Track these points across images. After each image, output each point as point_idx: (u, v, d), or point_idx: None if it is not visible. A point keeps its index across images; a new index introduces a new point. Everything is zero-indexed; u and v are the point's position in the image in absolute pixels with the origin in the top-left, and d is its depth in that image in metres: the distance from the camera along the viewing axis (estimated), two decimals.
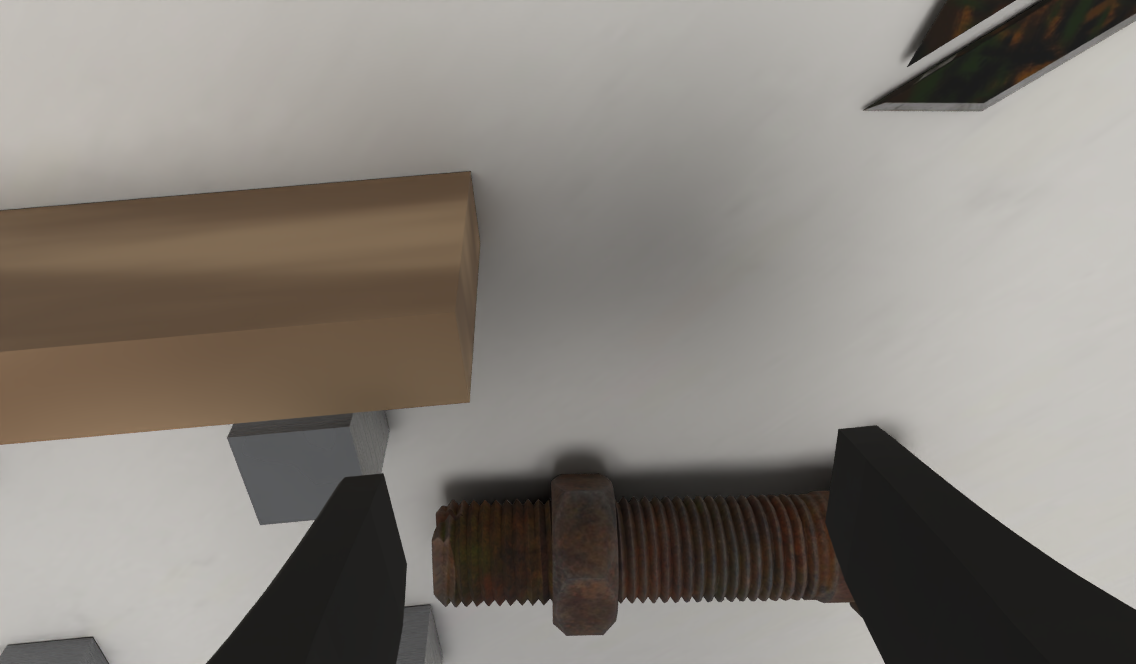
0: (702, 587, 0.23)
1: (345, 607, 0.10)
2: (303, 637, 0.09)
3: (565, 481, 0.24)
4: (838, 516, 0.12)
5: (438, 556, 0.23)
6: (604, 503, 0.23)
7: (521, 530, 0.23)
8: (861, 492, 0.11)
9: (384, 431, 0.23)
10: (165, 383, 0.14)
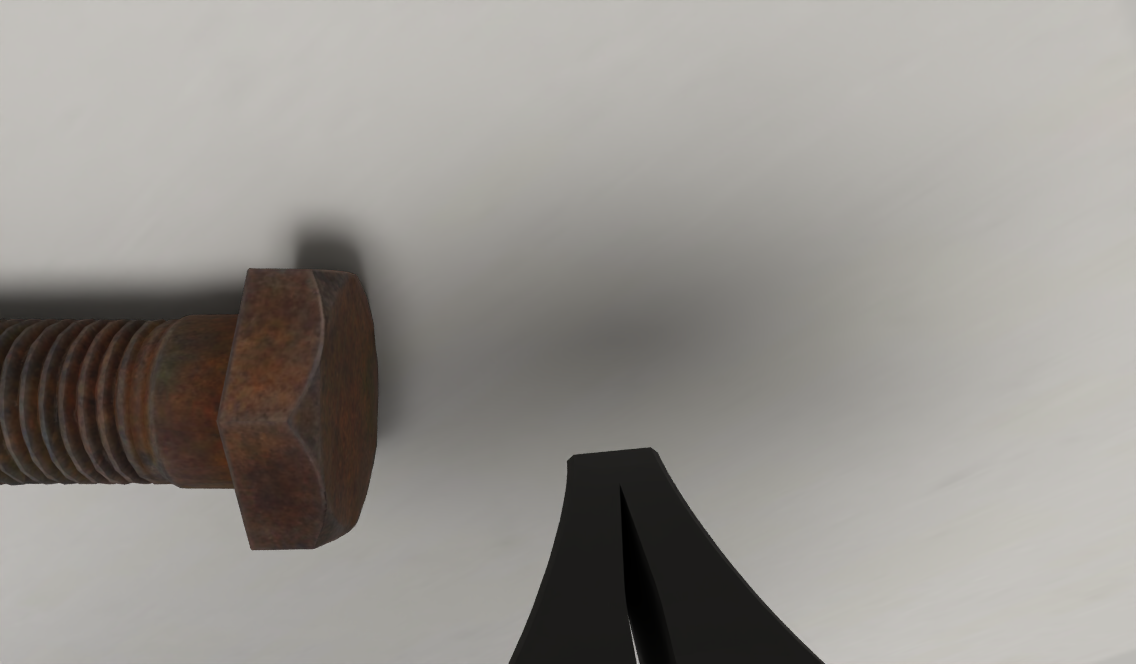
0: None
1: None
2: (615, 606, 0.09)
3: None
4: None
5: None
6: None
7: None
8: (622, 516, 0.11)
9: None
10: None
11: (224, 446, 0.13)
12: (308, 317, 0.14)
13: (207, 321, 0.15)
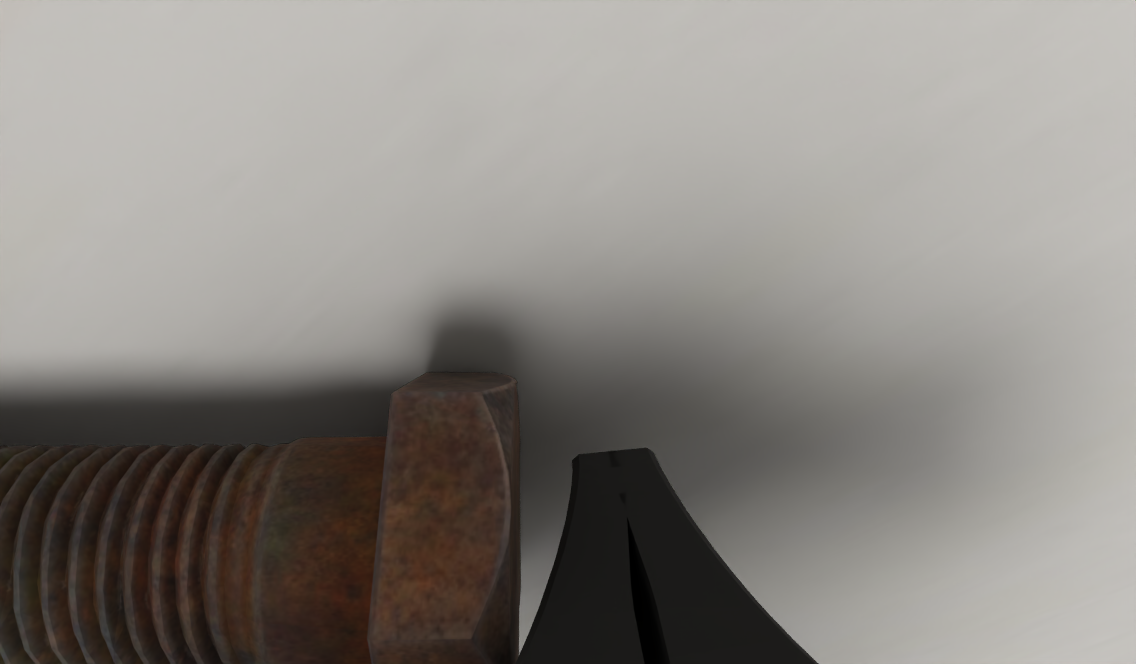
0: None
1: None
2: (621, 605, 0.09)
3: None
4: None
5: None
6: None
7: None
8: None
9: None
10: None
11: None
12: (485, 467, 0.09)
13: (324, 455, 0.11)
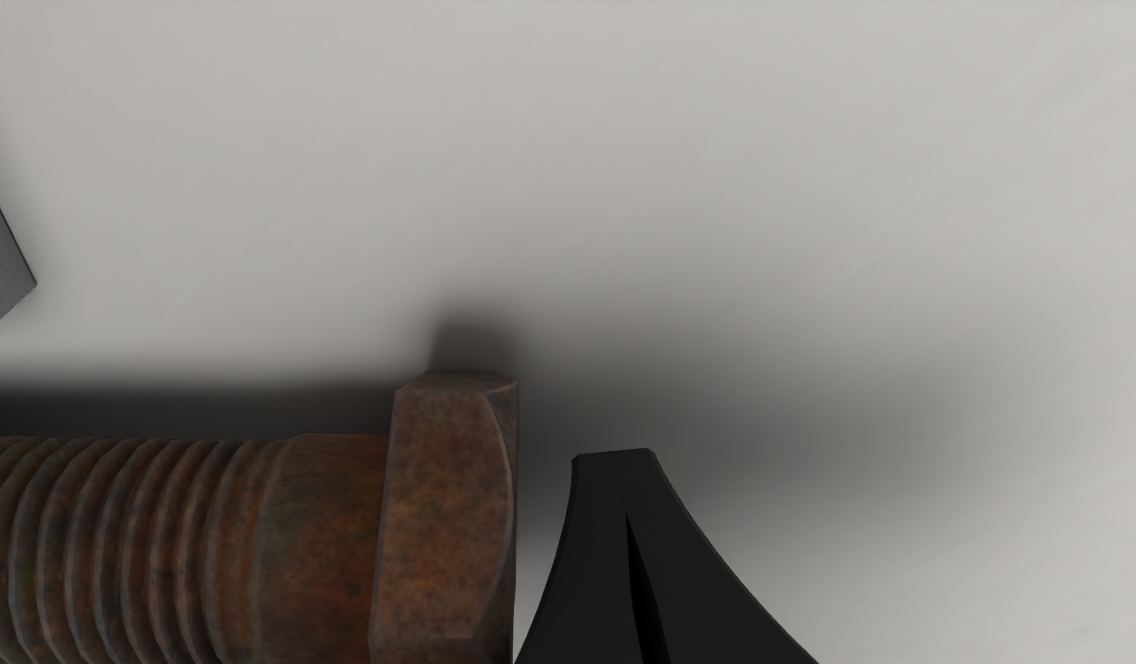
0: None
1: None
2: (620, 605, 0.09)
3: None
4: None
5: None
6: None
7: None
8: None
9: (2, 276, 0.11)
10: None
11: None
12: (488, 468, 0.09)
13: (324, 451, 0.11)
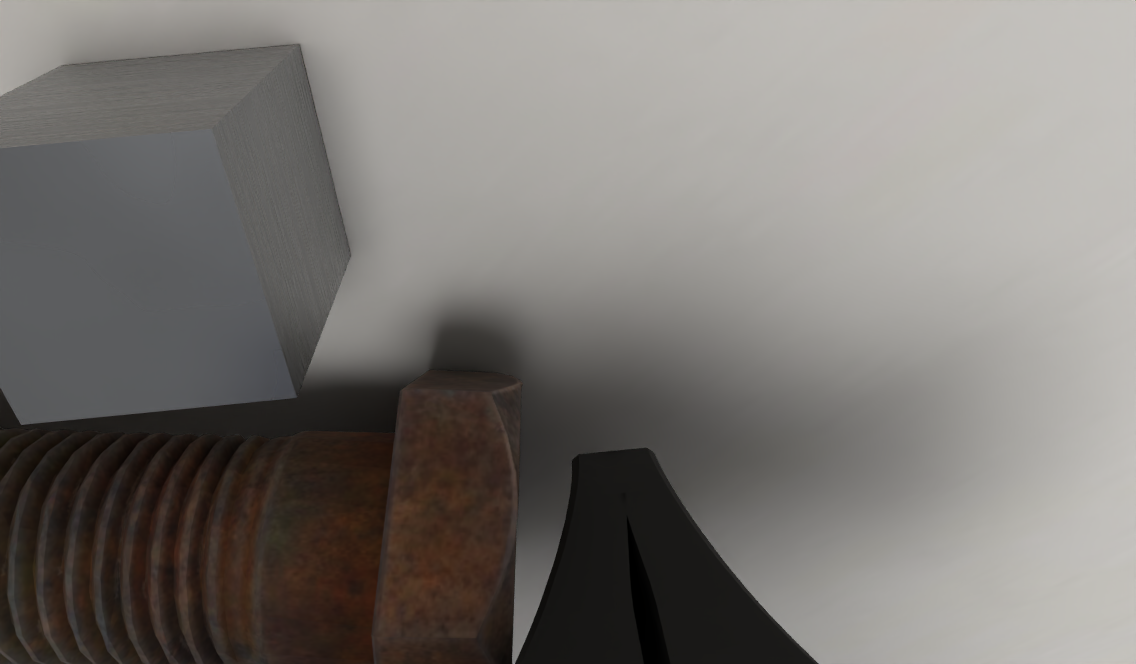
0: None
1: None
2: (621, 605, 0.09)
3: None
4: None
5: None
6: None
7: None
8: None
9: (337, 245, 0.11)
10: None
11: None
12: (492, 467, 0.09)
13: (328, 449, 0.11)
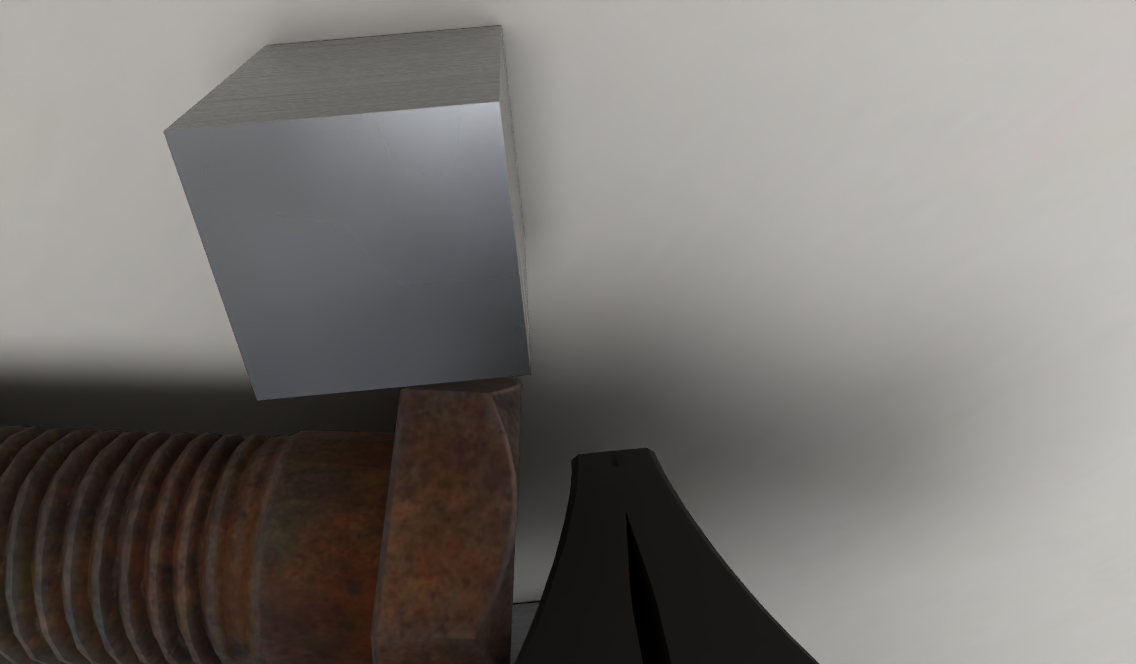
0: None
1: None
2: (620, 605, 0.09)
3: None
4: None
5: None
6: None
7: None
8: None
9: (522, 227, 0.11)
10: None
11: None
12: (492, 468, 0.09)
13: (327, 449, 0.11)
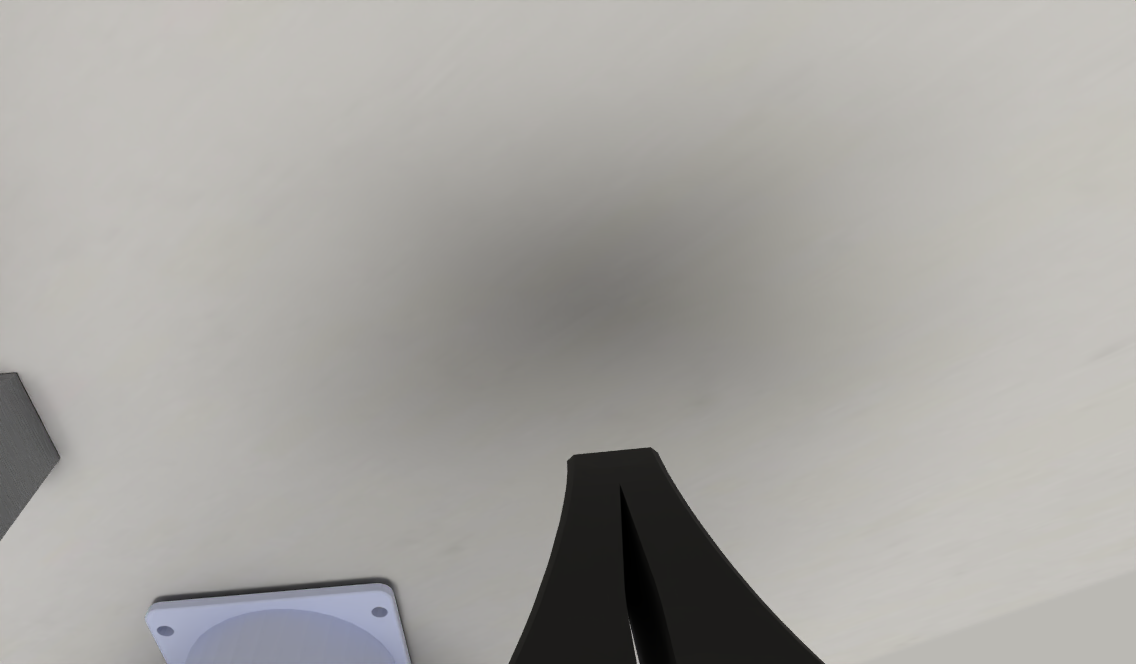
0: None
1: None
2: (615, 606, 0.09)
3: None
4: None
5: None
6: None
7: None
8: (622, 516, 0.11)
9: None
10: None
11: None
12: None
13: None
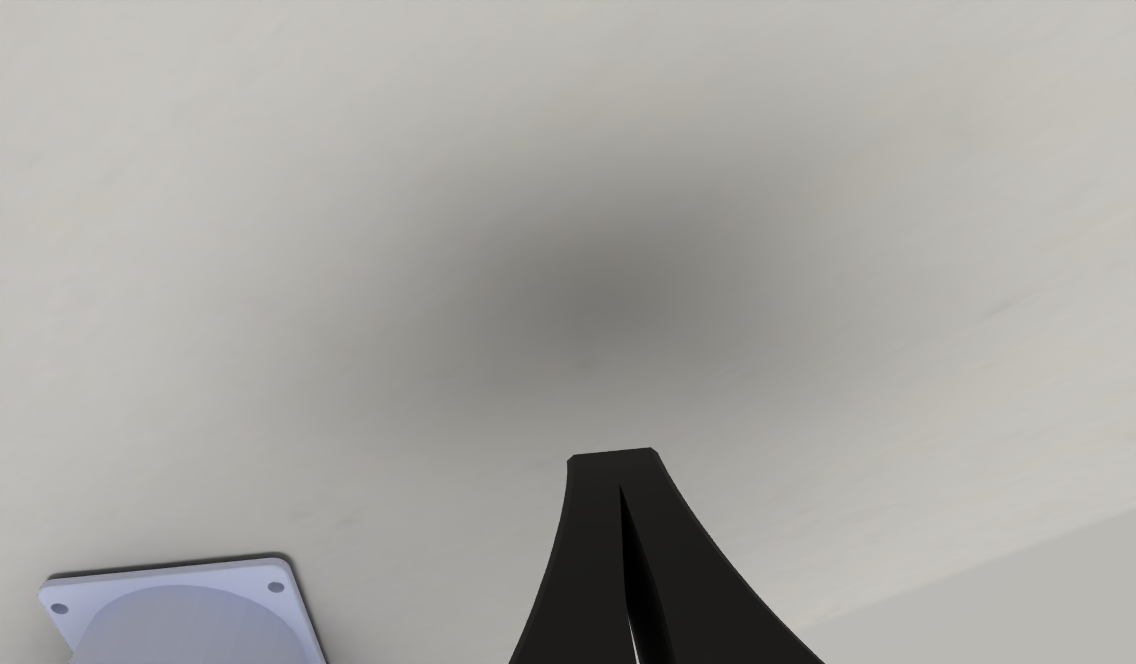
0: None
1: None
2: (615, 606, 0.09)
3: None
4: None
5: None
6: None
7: None
8: (622, 516, 0.11)
9: None
10: None
11: None
12: None
13: None
